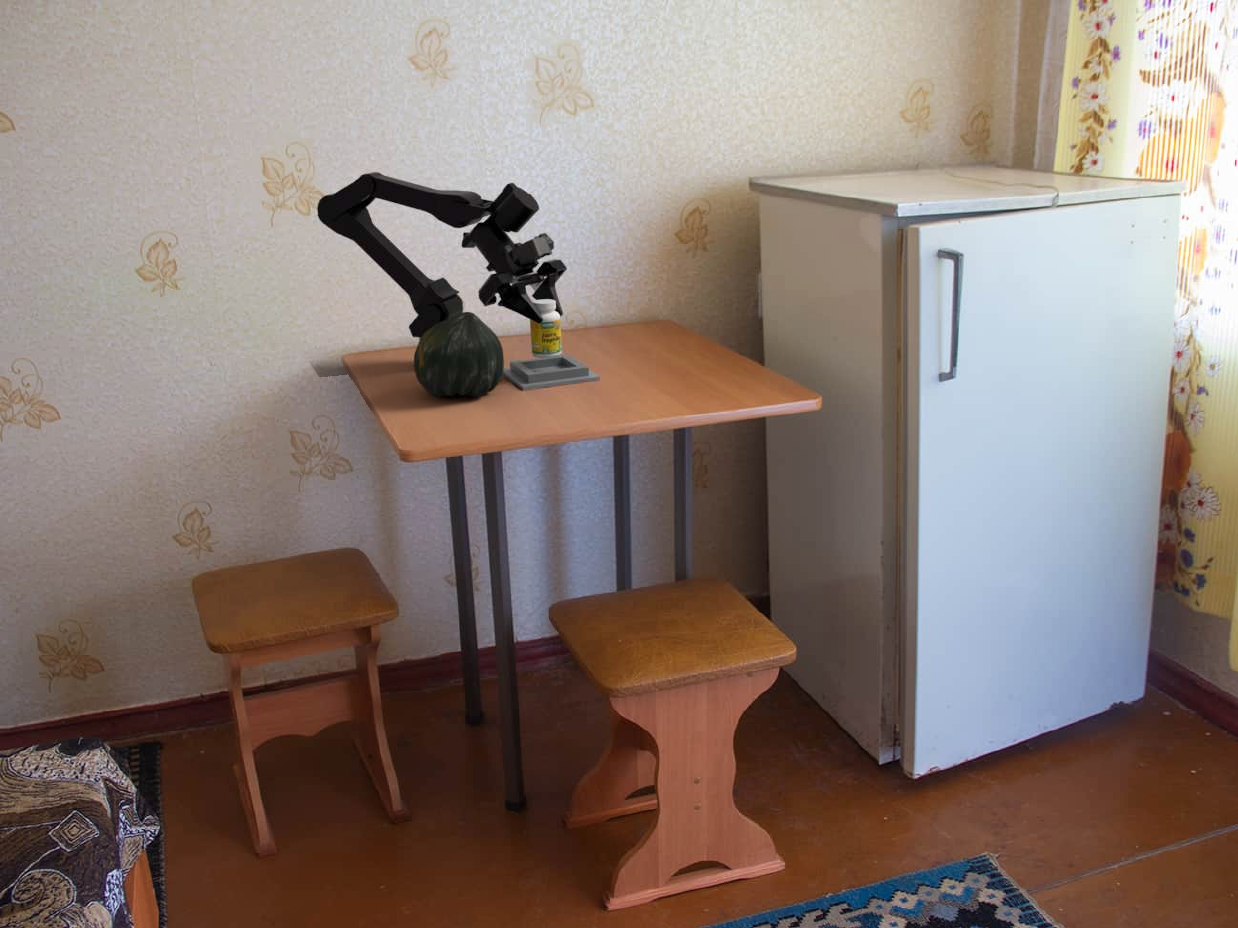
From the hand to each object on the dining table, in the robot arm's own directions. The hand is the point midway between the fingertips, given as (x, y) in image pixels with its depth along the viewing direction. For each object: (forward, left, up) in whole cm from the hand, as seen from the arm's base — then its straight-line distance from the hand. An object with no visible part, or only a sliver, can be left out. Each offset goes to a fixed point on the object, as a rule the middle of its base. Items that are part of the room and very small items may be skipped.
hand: (551, 318), depth 202 cm
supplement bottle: (-1, -1, -7) cm, 7 cm away
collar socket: (-1, -1, -10) cm, 10 cm away
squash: (+3, -17, -11) cm, 21 cm away
